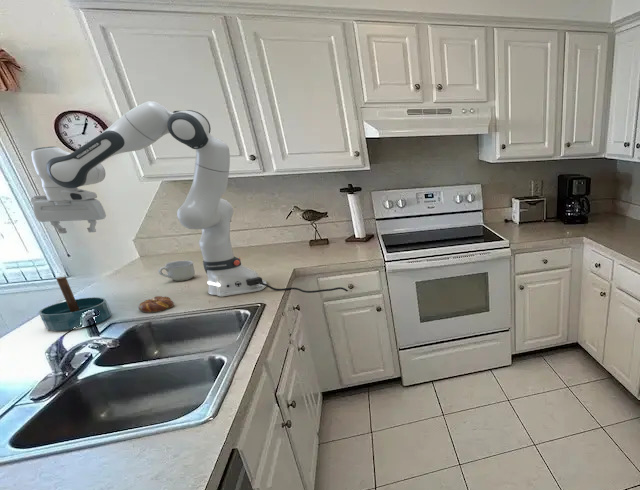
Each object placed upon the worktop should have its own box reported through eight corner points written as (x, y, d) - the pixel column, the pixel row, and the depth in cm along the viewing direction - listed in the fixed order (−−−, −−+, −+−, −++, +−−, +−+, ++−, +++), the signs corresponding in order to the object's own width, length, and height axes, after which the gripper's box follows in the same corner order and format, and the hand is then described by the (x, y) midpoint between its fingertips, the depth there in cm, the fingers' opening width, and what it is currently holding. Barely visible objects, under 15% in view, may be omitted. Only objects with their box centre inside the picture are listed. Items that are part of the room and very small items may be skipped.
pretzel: (141, 306, 163) (138, 297, 162) (175, 300, 169) (172, 292, 168) (138, 316, 154) (134, 306, 153) (174, 309, 160) (171, 300, 159)
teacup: (193, 274, 203) (188, 258, 200) (200, 278, 197) (195, 262, 194) (158, 281, 193) (153, 264, 190) (165, 285, 187) (159, 269, 184)
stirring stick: (90, 317, 151) (72, 275, 145) (83, 321, 147) (65, 278, 141) (74, 319, 150) (56, 276, 144) (68, 323, 146) (48, 280, 140)
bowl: (120, 310, 159) (114, 295, 157) (98, 328, 144) (91, 311, 142) (64, 316, 154) (57, 300, 151) (34, 335, 139) (26, 317, 136)
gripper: (21, 196, 144) (38, 235, 150) (89, 195, 148) (103, 233, 153) (36, 194, 150) (51, 232, 155) (101, 193, 154) (114, 229, 159)
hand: (78, 232), depth 154 cm, fingers open, 8 cm apart
